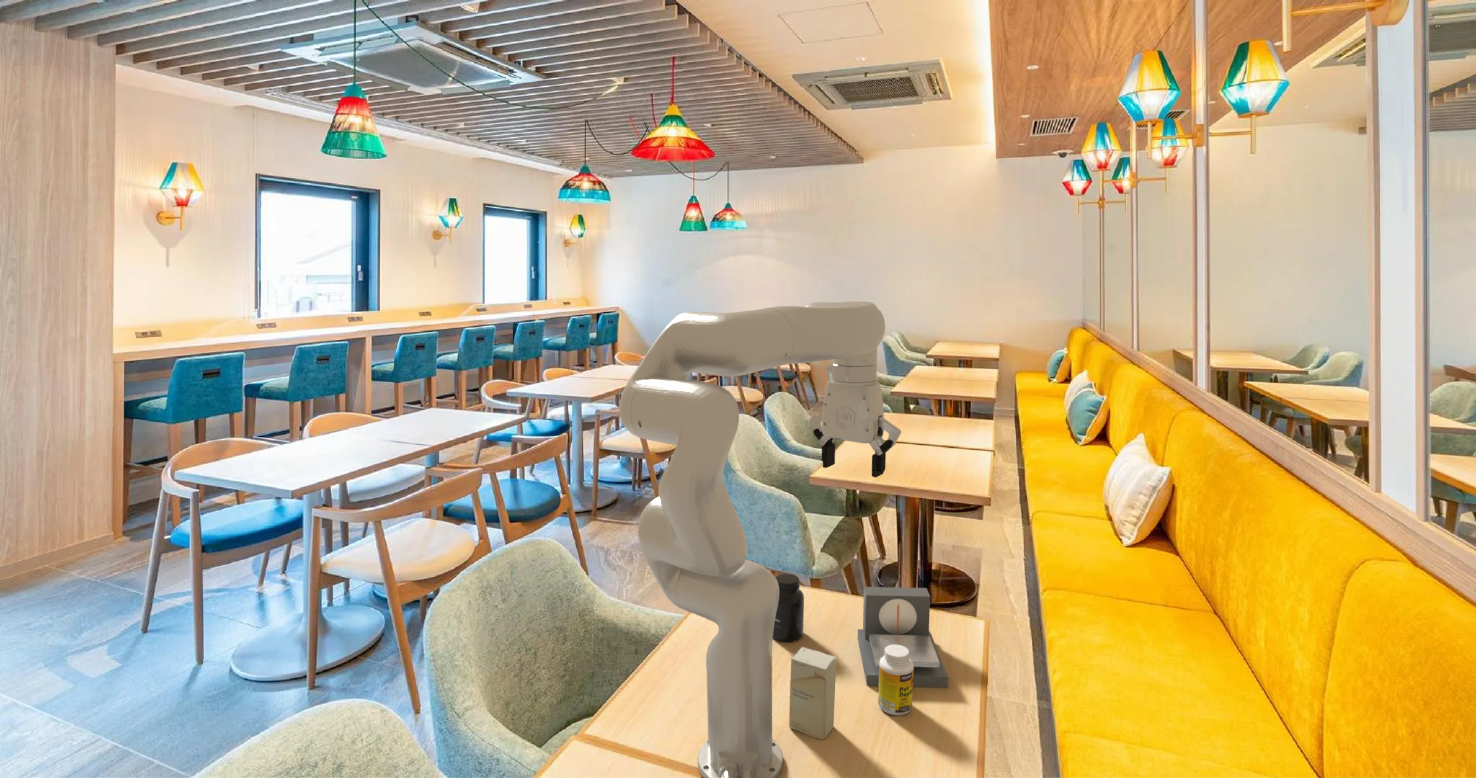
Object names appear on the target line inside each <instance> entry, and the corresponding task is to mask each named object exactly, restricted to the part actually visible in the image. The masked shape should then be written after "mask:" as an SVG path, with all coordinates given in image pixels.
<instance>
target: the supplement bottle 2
mask: <svg viewBox="0 0 1476 778" xmlns="http://www.w3.org/2000/svg"><path fill="white" fill-rule="evenodd" d="M909 658H910V657H909V650H908V649H907V648H906V647H904V646H901V645H889V646H887V647H886V648H885V654H884V656H883V657H882V658H881V659H880V663H879V686H878V698H877V699H878V700H877V702H878V707H879V708H880V709H881V710H882V711H883V712H885V713H886V714H888V715H892V716H905V715H907V714H909V713H910V712H911V710H912V707H913V691H914V690H913V688H914V687H913V671H914V665H913V662H912V661H911V660H910V659H909Z"/></svg>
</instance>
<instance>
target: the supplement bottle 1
mask: <svg viewBox="0 0 1476 778" xmlns="http://www.w3.org/2000/svg"><path fill="white" fill-rule="evenodd" d="M774 577H775V578H776V580H777V582H778V586H779V602H778V607H777V612H776V617H775V622H774V629H773V639H774V640H775V641H778V642H781V643H782V642H783V643H793V642H797V641H799V640H800V639H801V638H802V637H803V635H804V623H805V622H804V621H805V619H804V618H805V617H804V615H805V614H804V613H805V612H804V611H805V596H804V593H803V590H801V589H800V578H799V576H797V575H796V574H793V573H792V574H791V573H781V574H778V575H776V576H774Z"/></svg>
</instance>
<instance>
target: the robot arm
mask: <svg viewBox="0 0 1476 778" xmlns="http://www.w3.org/2000/svg"><path fill="white" fill-rule="evenodd" d="M885 332H886V321H885V318H884V315H883V313H882V311H881V310H880V309H879V308H878V306H877V305H876V304H875V303H873V302H870V301H842V302H837V301H836V302H831V301H830V302H826V301H819V302H813V303H809V304H807V305H805V306H800V305H799V306H796V305H795V306H794V305H790V306H789V305H786V306H785V305H782V306H781V305H779V306H772V307H765V308H758V309H751V310H741V311H736V312H703V311H702V312H701V311H686V312H682V313H680V314H678V315H677V316H676V317H675V318H673V319H672V320H671V321H669V323H668V324H667V326H665V328H664V329H662V331H661V332H660V333H659V335H658V336H657V337H656V339H655V341H653V344H652V345H651V346H650V347H649V350H648V351H647V353H646V354H645V356H644V357H643V359H642V360H641V362H640V363H639V364H638V365H637V367H636V369H635V370H634V372H633V373H632V375H631V376H630V378H629V379H628V382H627V383H626V385H625V387H624V389H623V391H622V394H621V396H620V401H619V417H620V420H621V421H620V422H621V423H622V425H623V426H624V428H625V430H626V431H628V433H630V434H631V435H632V436H633V435H634V437H638V438H639V439H643V440H647V441H652V442H656V443H657V442H658V443H661V444H667V445H673V446H676V447H675V449H674V451H673V454H672V456H671V457H670V460H669V462H668V463H667V467H666V468H665V470H664V472H663V473H662V476H661V478H660V481H659V482H658V483H659V484H658V489H657V490H658V496H657V497H655V498H653V499H652V500H651V501H649V502H648V503H647V504H646V506H645V507H644V509H643V510H642V512H641V514H640V517H639V520H638V525H637V541H638V546H639V549H640V552H641V554H642V556H643V558H644V560H645V562H646V563H647V566H648V567H649V569H650V571H651V572H652V575H653V576H654V579H656V582H657V584H658V585H659V586H660V588H661V590H662V592H663V593H664V595H665V596H666V597H667V599H668V600H669V601H670V602H671V603H672V604H673V605H675V607H677V608H680V609H681V610H683V611H686V612H688V613H690V614H694V615H696V616H699V617H701V618H704V619H706V620H708V621H710V622H713V623H715V624H716V625H717V626H718V631H717V634H716V635H715V636H714V637H713V638H712V640H711V641H710V642H709V645H707V646H708V647H707V651H706V658H705V659H706V660H705V662H706V664H705V665H706V694H707V695H706V700H707V703H706V705H707V706H706V708H707V740H706V741H704V743H703V744H702V745H701V747H700V749H699V750H698V754H697V755H698V756H697V767H698V771H699V772H700V775H701V777H703V778H779V775H780V774H781V772H782V768H783V760H784V757H783V751H782V748H781V746H779V744H778V743H777V742H776V740H774V739H773V639H774V638H773V629H774V622H775V617H776V612H777V607H778V602H779V586H778V582H777V580H776V578H775V577H776V576H775V575H774V574H773V573H772V572H771V570H769V569H767V568H766V567H765V566H763V565H762V564H759V563H757V562H754V561H751V560H748V559H747V556H748V540H747V537H746V536H747V535H746V533H745V530H744V527H743V525H742V523H741V520H740V518H739V515H738V514H737V510H736V508H735V507H734V505H733V502H732V500H731V497H730V495H729V493H728V490H727V487H726V485H725V481H724V470H725V465H726V462H727V459H728V455H729V453H730V451H731V448H732V445H733V442H734V440H735V437H736V434H737V431H738V428H739V423H740V422H739V421H740V412H739V411H740V410H739V405H738V402H737V399H736V398H735V397H734V395H733V394H732V392H730V391H729V390H728V389H726V388H724V387H722V386H720V385H717V384H714V383H711V382H705V381H700V380H693V379H692V380H691V379H689V378H690V376H691V374H692V373H695V374H703V375H712V376H719V377H741V376H745V375H749V374H753V373H757V372H760V371H765V370H768V369H773V368H777V367H781V366H785V365H795V364H797V365H798V364H807V363H808V364H809V363H813V362H821V361H830V360H832V363H831V365H830V364H829V365H827V366H826V372H827V374H831V378H832V379H830V380H828V381H827V383H826V384H827V385H826V387H825V392H824V398H823V407H822V413H820V414H817V415H815V416H813V417H810V418H809V420H808V421H809V423H810V426H811V428H812V429H811V430H813V435H814V436H815V438H816V439H817V440H818V444H819V445H820V446H821V461H822V468H824V469H827V468H829V467H832V466H834V465H835V464H836V443H835V442H833V441H834V440H839V441H846V442H852V443H858V444H869V445H870V447H871V449H872V450H873V451H874V454H872V456H871V476H872V477H873V478H875V479H877V478H878V477H880V476H882V475H884V473H885V471H886V463H887V462H886V458H887V457H886V456H887V452H889V450H890V449H892V448H893V447H894V446H895V445H896V443H897V441H898V440H899V437H900V436H901V434H902V431H901V429H900V428H898V427H897V426H896V425H894V424H892V422H890V421H889V420H887V419H886V418H885V413H884V411H885V410H884V402H883V401H884V400H883V394H882V388H881V384H880V382H877V375H878V347H879V345H880V344H881V342H882V340H883V339H884V336H885ZM884 432H886V433H888V437H887V439H886V440H884V437H883V436H884Z"/></svg>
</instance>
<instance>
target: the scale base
mask: <svg viewBox="0 0 1476 778" xmlns="http://www.w3.org/2000/svg"><path fill="white" fill-rule="evenodd" d="M930 607H931V595H930V593H929V591H928V588H927V587H895V586H894V587H890V586H889V587H888V586H887V587H886V586H885V587H884V586H864V587H863V613H862V614H863V615H862V616H863V617H862V628H861V629H859V628H858V629H857V643H858V648H859V653H860V657H861V662H862V663H861V664H862V667H863V673H864V678H865V683H866V686H875V687H876V686H877V687H879V666H876V665H875V661H874V657H873V652H872V648H871V644H870V634H875V635H918V636H929V637H930V639H931V642H932V644H933V647H934V649H935V652H936V654H937V657H938V660H939V667H914V671H913V688H947V689H948V688H949V676H948V673H947V670H946V667H945V665H944V663H943V660H942V658H941V655H940V652H939V651H938V647H937V646H936V643H935V641H934V638H933V636H932V632H931V630H930V613H931V610H930V609H931V608H930Z"/></svg>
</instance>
